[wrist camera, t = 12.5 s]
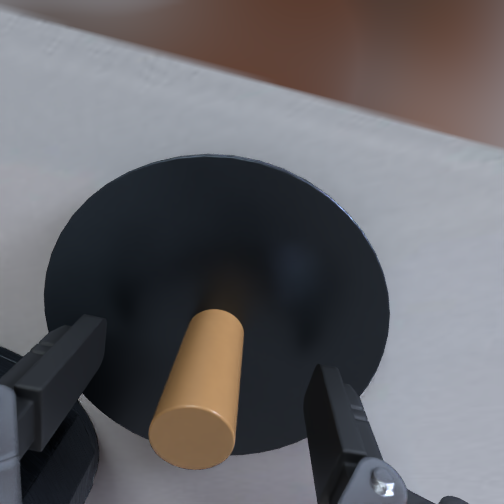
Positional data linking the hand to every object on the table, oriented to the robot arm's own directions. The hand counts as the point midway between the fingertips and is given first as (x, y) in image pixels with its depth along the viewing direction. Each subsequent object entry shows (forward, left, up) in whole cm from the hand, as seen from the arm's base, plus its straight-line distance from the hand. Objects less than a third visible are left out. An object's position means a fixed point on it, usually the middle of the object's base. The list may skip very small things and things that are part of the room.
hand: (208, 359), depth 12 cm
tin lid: (0, 0, -2) cm, 2 cm away
